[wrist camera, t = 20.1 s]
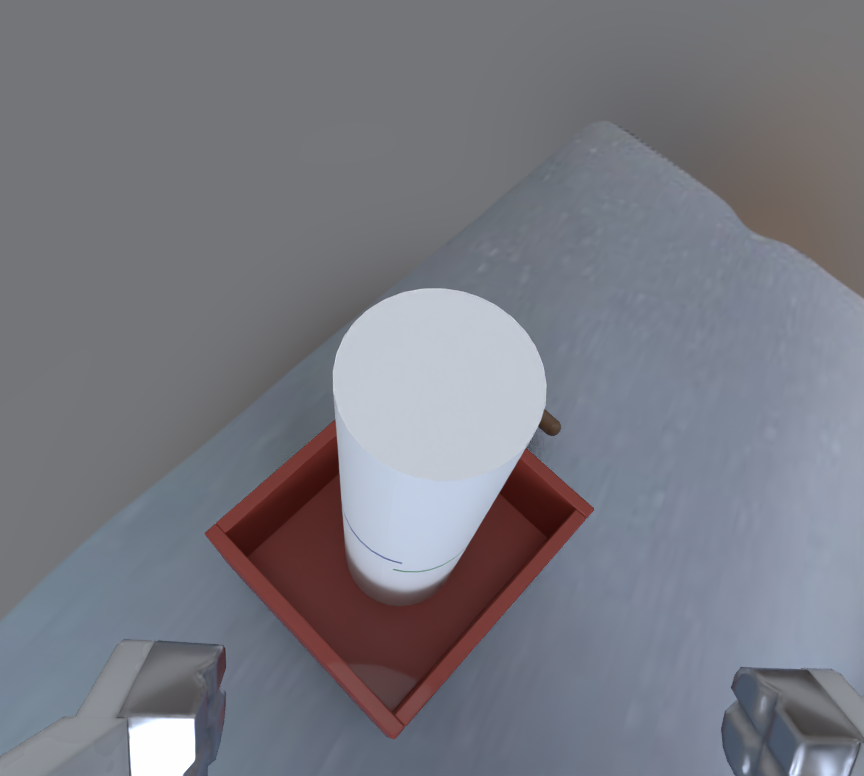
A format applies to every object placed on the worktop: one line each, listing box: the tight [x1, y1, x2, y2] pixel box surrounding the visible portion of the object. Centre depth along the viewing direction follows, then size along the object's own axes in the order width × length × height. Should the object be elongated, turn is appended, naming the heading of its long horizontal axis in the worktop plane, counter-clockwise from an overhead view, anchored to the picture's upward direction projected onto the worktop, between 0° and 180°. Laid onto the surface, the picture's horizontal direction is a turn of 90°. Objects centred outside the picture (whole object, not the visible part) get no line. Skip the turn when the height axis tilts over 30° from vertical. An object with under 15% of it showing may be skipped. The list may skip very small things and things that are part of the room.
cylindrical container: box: [333, 288, 547, 606], centre depth 34 cm, size 7×7×25 cm
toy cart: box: [205, 409, 594, 739], centre depth 45 cm, size 22×15×11 cm, turn 137°
